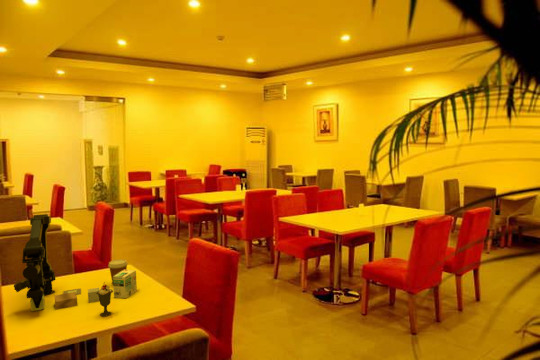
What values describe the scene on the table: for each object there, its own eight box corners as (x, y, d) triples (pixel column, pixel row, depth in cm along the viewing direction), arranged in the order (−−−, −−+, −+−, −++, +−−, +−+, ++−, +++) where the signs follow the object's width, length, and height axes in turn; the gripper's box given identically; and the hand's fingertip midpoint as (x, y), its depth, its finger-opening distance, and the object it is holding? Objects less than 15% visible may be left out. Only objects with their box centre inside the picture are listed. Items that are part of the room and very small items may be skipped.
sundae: (104, 318, 176) (102, 284, 174) (94, 315, 179) (92, 281, 178) (117, 313, 181) (115, 279, 180) (107, 309, 185) (105, 277, 183)
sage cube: (31, 311, 184) (30, 300, 183) (32, 307, 188) (31, 296, 188) (43, 309, 186) (43, 298, 185) (44, 305, 190) (43, 294, 190)
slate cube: (88, 303, 193) (87, 292, 193) (88, 299, 198) (87, 289, 197) (100, 301, 195) (99, 291, 195) (99, 297, 200) (98, 287, 199)
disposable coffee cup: (124, 287, 213) (123, 264, 212) (106, 287, 213) (105, 264, 212) (131, 280, 222) (130, 259, 221) (113, 281, 222) (112, 259, 221)
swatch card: (63, 297, 201) (63, 296, 201) (63, 291, 208) (63, 290, 208) (81, 294, 204) (81, 293, 204) (80, 288, 211) (80, 288, 211)
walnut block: (55, 310, 186) (54, 302, 185) (54, 303, 194) (54, 295, 193) (77, 306, 190) (76, 297, 190) (76, 299, 198) (75, 291, 198)
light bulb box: (126, 298, 197) (124, 276, 196) (113, 297, 199) (112, 276, 198) (137, 290, 208) (136, 269, 207) (125, 289, 209) (124, 269, 208)
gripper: (17, 269, 190) (19, 301, 192) (11, 281, 174) (14, 317, 175) (44, 265, 195) (46, 297, 197) (41, 277, 178) (44, 312, 180)
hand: (37, 305), depth 187 cm, fingers closed on sage cube, 5 cm apart
